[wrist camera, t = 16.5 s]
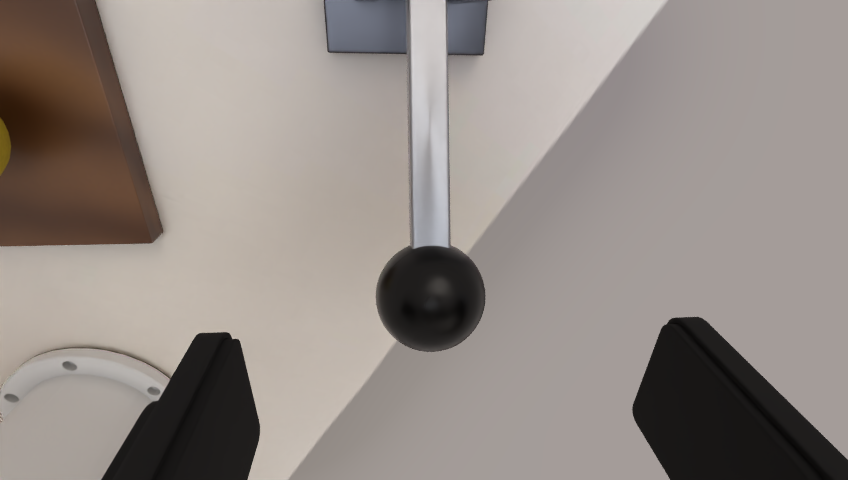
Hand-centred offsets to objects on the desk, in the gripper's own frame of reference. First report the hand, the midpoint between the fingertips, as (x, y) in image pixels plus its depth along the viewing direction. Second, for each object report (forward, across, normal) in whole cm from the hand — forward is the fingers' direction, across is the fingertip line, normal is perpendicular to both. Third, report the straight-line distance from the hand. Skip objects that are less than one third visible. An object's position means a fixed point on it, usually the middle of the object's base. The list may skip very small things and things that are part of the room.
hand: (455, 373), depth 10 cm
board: (+18, +21, -2) cm, 28 cm away
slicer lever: (+7, 0, -4) cm, 8 cm away
